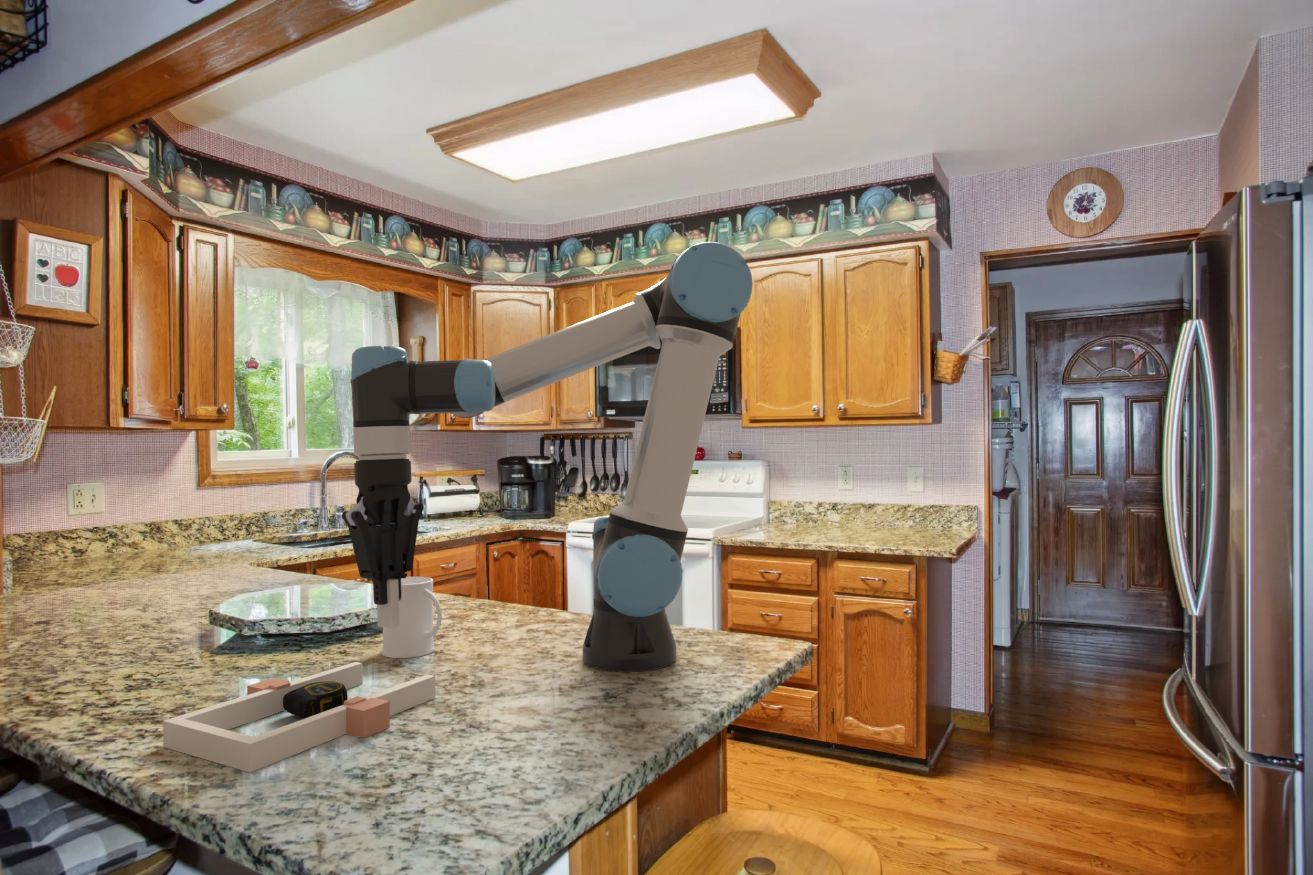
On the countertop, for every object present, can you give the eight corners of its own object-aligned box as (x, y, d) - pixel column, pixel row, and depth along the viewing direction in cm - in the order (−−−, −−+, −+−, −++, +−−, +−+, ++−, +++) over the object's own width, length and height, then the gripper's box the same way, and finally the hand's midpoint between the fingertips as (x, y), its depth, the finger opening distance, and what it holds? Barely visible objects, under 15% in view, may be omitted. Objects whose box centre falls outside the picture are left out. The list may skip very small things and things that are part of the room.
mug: (457, 653, 130) (457, 581, 131) (414, 664, 124) (414, 588, 124) (413, 642, 137) (413, 574, 138) (370, 653, 130) (370, 581, 131)
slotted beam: (451, 701, 106) (451, 675, 106) (268, 777, 81) (268, 745, 81) (340, 679, 116) (341, 656, 116) (148, 742, 91) (148, 713, 91)
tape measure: (280, 717, 100) (280, 688, 100) (333, 704, 105) (333, 676, 105) (303, 730, 95) (302, 699, 96) (356, 716, 100) (356, 686, 100)
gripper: (398, 456, 117) (403, 614, 117) (325, 460, 105) (331, 635, 105) (436, 455, 113) (441, 618, 113) (364, 458, 102) (371, 639, 102)
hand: (388, 626), depth 109 cm, fingers closed
